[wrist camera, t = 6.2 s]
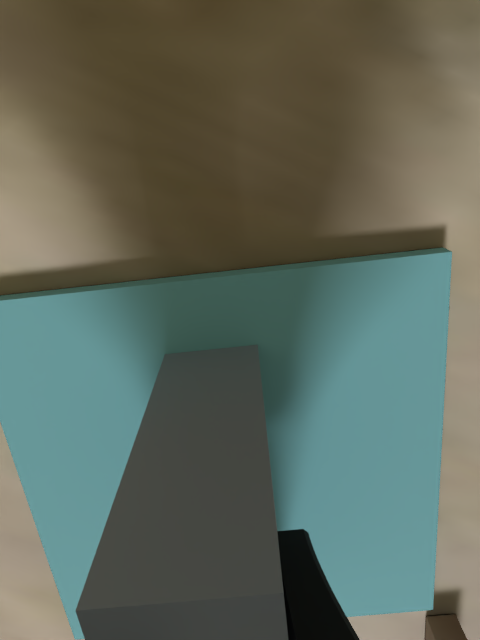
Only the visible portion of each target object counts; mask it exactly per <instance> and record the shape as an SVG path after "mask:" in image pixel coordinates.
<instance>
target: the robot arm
mask: <svg viewBox="0 0 480 640" xmlns="http://www.w3.org/2000/svg"><path fill="white" fill-rule="evenodd" d="M277 534H278V544H279V553H280V563H281V572H282V582H283V591H284V601H285V610H286V620H287V629H288V639H289V640H359V638H358V636H357V634H356V633H355V631H354V629H353V628H352V626H351V624H350V622H349V620H348V619H347V617H346V615H345V613H344V611H343V609H342V608H341V606H340V604H339V602H338V600H337V598H336V597H335V595H334V593H333V591H332V589H331V587H330V585H329V583H328V581H327V578H326V576H325V574H324V572H323V570H322V568H321V565H320V563H319V561H318V559H317V556H316V554H315V551H314V548H313V546H312V543H311V540H310V537H309V533H308V532H307V531H305V530H304V529H296V530H285V531H277Z"/></svg>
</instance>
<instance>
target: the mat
mask: <svg viewBox="0 0 480 640" xmlns="http://www.w3.org/2000/svg"><path fill="white" fill-rule="evenodd" d="M451 259H452V252H451V251H449V250H447V249H445V248H434V249H424V250H415V251H406V252H397V253H388V254H378V255H369V256H360V257H351V258H342V259H332V260H323V261H314V262H305V263H296V264H286V265H277V266H268V267H259V268H250V269H240V270H231V271H222V272H213V273H204V274H195V275H185V276H176V277H167V278H158V279H149V280H139V281H130V282H121V283H112V284H103V285H93V286H84V287H75V288H66V289H57V290H47V291H38V292H29V293H20V294H11V295H1V296H0V422H1V425H2V428H3V431H4V434H5V437H6V440H7V443H8V446H9V448H10V451H11V454H12V457H13V460H14V463H15V466H16V469H17V472H18V475H19V478H20V481H21V484H22V486H23V489H24V492H25V495H26V498H27V501H28V504H29V507H30V510H31V513H32V516H33V519H34V521H35V524H36V527H37V530H38V533H39V536H40V539H41V542H42V545H43V548H44V551H45V554H46V556H47V559H48V562H49V565H50V568H51V571H52V574H53V577H54V580H55V583H56V586H57V589H58V591H59V594H60V597H61V600H62V603H63V606H64V609H65V612H66V615H67V618H68V621H69V624H70V627H71V629H72V632H73V635H74V638H75V639H85V638H84V635H83V632H82V629H81V626H80V623H79V620H78V617H77V614H76V608H77V605H78V602H79V599H80V596H81V593H82V591H83V588H84V585H85V582H86V579H87V576H88V573H89V570H90V568H91V565H92V562H93V559H94V556H95V553H96V550H97V547H98V545H99V542H100V539H101V536H102V533H103V530H104V527H105V524H106V522H107V519H108V516H109V513H110V510H111V507H112V504H113V502H114V499H115V496H116V493H117V490H118V487H119V484H120V481H121V479H122V476H123V473H124V470H125V467H126V464H127V461H128V458H129V456H130V453H131V450H132V447H133V444H134V441H135V438H136V435H137V433H138V430H139V427H140V424H141V421H142V418H143V415H144V413H145V410H146V407H147V404H148V401H149V398H150V395H151V392H152V390H153V387H154V384H155V381H156V378H157V375H158V372H159V369H160V367H161V364H162V361H163V358H164V355H165V354H172V353H181V352H191V351H201V350H210V349H220V348H230V347H239V346H249V345H258V353H259V362H260V372H261V381H262V391H263V400H264V409H265V419H266V428H267V438H268V447H269V457H270V466H271V476H272V485H273V495H274V504H275V514H276V523H277V531H285V530H296V529H304V530H305V531H307V532H308V533H309V537H310V540H311V543H312V546H313V548H314V551H315V554H316V556H317V559H318V561H319V563H320V565H321V568H322V570H323V572H324V574H325V576H326V578H327V581H328V583H329V585H330V587H331V589H332V591H333V593H334V595H335V597H336V598H337V600H338V602H339V604H340V606H341V608H342V609H343V611H344V613H345V615H346V617H352V616H364V615H376V614H388V613H400V612H413V611H425V610H433V600H434V581H435V562H436V543H437V524H438V505H439V486H440V467H441V449H442V430H443V411H444V392H445V373H446V354H447V335H448V316H449V297H450V278H451Z"/></svg>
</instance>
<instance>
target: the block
mask: <svg viewBox="0 0 480 640" xmlns="http://www.w3.org/2000/svg"><path fill="white" fill-rule="evenodd" d="M76 614H77V617H78V620H79V623H80V626H81V629H82V632H83V635H84V638H85V640H289V639H288V629H287V620H286V610H285V601H284V591H283V582H282V572H281V563H280V553H279V544H278V534H277V523H276V514H275V504H274V495H273V485H272V476H271V466H270V457H269V447H268V438H267V428H266V419H265V409H264V400H263V391H262V381H261V372H260V362H259V353H258V345H249V346H239V347H230V348H220V349H210V350H201V351H191V352H181V353H172V354H165V355H164V358H163V361H162V364H161V367H160V369H159V372H158V375H157V378H156V381H155V384H154V387H153V390H152V392H151V395H150V398H149V401H148V404H147V407H146V410H145V413H144V415H143V418H142V421H141V424H140V427H139V430H138V433H137V435H136V438H135V441H134V444H133V447H132V450H131V453H130V456H129V458H128V461H127V464H126V467H125V470H124V473H123V476H122V479H121V481H120V484H119V487H118V490H117V493H116V496H115V499H114V502H113V504H112V507H111V510H110V513H109V516H108V519H107V522H106V524H105V527H104V530H103V533H102V536H101V539H100V542H99V545H98V547H97V550H96V553H95V556H94V559H93V562H92V565H91V568H90V570H89V573H88V576H87V579H86V582H85V585H84V588H83V591H82V593H81V596H80V599H79V602H78V605H77V608H76Z"/></svg>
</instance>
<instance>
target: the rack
mask: <svg viewBox="0 0 480 640" xmlns="http://www.w3.org/2000/svg"><path fill="white" fill-rule="evenodd" d="M425 640H467V638H466V636H465V634H464V632H463V630H462V628H461V625H460V623H459V621H458V619H457V617H456V615H455V614H453V615H441V616H428V617H426V631H425Z"/></svg>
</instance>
